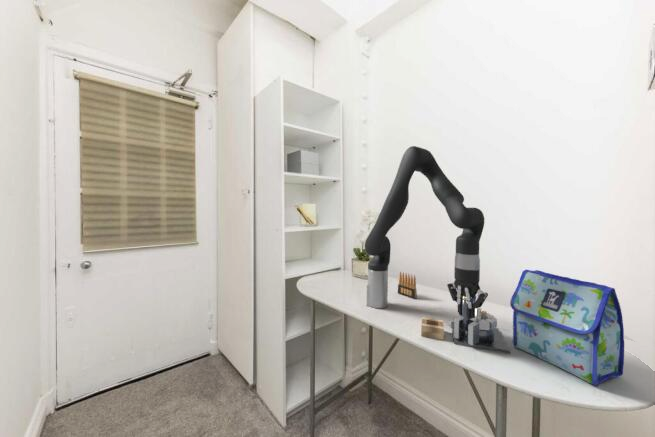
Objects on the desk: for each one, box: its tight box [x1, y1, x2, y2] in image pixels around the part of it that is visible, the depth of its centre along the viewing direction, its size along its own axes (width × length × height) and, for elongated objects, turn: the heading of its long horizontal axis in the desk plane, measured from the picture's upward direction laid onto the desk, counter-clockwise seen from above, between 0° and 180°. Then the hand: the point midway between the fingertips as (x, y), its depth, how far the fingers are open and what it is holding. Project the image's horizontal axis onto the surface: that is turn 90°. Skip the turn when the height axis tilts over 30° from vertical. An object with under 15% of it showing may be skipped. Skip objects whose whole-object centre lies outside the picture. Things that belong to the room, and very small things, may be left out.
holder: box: [420, 316, 445, 341], centre depth 95 cm, size 7×7×4 cm
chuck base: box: [450, 307, 511, 354], centre depth 92 cm, size 16×16×10 cm
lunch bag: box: [509, 269, 625, 387], centre depth 77 cm, size 22×17×26 cm
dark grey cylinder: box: [461, 295, 471, 332], centre depth 88 cm, size 3×3×12 cm
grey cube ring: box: [453, 310, 498, 346], centre depth 91 cm, size 11×15×7 cm
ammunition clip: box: [397, 271, 418, 300], centre depth 134 cm, size 11×2×12 cm, turn 35°
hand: (465, 316), depth 88 cm, fingers closed on dark grey cylinder, 2 cm apart
